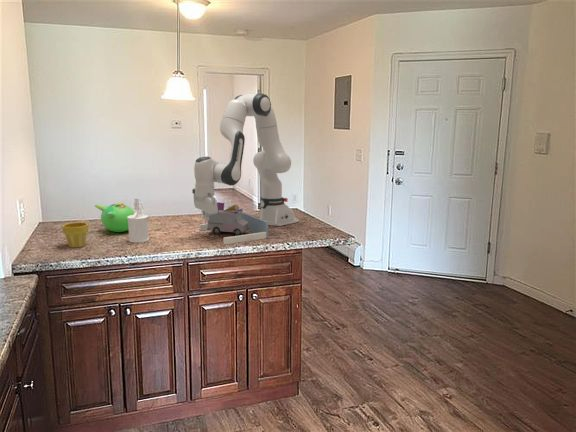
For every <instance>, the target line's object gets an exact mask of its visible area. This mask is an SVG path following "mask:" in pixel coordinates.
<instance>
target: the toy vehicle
mask: <svg viewBox="0 0 576 432" xmlns="http://www.w3.org/2000/svg"><path fill="white" fill-rule="evenodd" d="M217 207H218V213H217V214H213V215H211V214H210V216H209V221H207V224H208V228H207V230H206V231H211V233H214V234H215V235H219V234H220V233H221V232H229V233H233V234H234V235H235V236H239V235H242V234H244V233H246V232H247V231H249V225H248V222H247V221H245V220H244V219H243V215H242V212H243V208H240V206H239V205H238V204H234V205H233V204H232V205H231V206H229V207H228V208H226V209H225V202H219V201H217Z"/></svg>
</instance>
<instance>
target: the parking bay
mask: <svg viewBox="0 0 576 432" xmlns="http://www.w3.org/2000/svg"><path fill="white" fill-rule="evenodd" d="M242 215H243V219H244V220H245V221H247V222H248V225H249V230H248V231H249V232H251V233H248V234H247V233H246V234H241V235H239V236H236V235H235V236H234V235H233V236H226V237H222V238H223V242H222V243H223V245H224V246H225V245H230V244H238V243H243V242H250V241H252V242H253V241H258V240H264V239H269V225H268V222H267V221H264V220H262V219H260V217H257V216H254V215H251V214H249V213H247V212H244V211H242ZM207 228H208V223H202V224H199V225H198V231H200V232H204V231H208V230H207Z"/></svg>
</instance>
